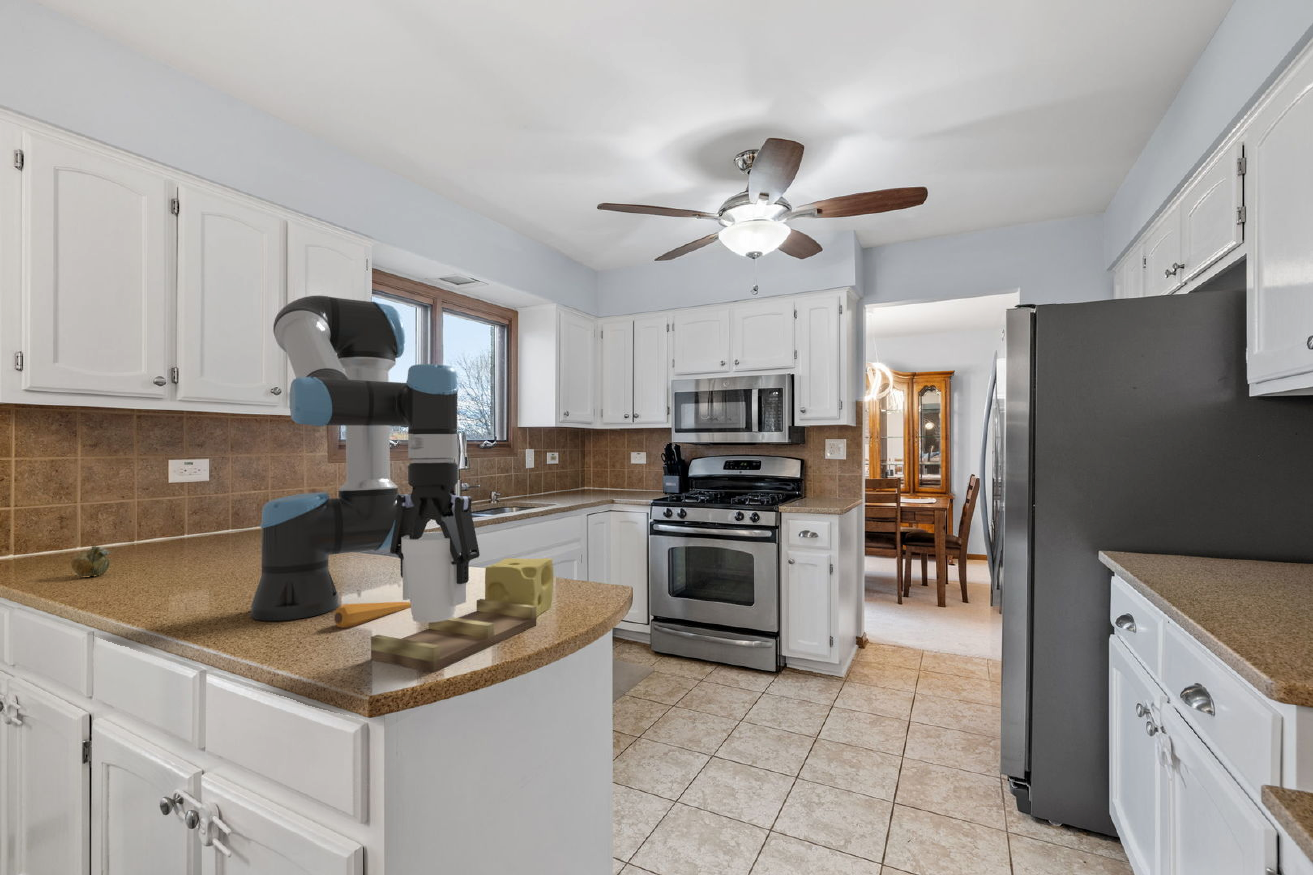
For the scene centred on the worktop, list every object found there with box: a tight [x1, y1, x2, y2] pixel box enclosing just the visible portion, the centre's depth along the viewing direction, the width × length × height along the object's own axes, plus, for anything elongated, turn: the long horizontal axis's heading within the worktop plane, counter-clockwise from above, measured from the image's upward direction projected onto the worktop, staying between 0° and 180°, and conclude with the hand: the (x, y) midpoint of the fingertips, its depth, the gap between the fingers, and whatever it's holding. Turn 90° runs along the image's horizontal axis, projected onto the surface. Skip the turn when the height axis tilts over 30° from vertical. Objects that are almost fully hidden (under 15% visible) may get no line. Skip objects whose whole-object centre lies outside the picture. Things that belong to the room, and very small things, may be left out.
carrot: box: [333, 601, 411, 629], centre depth 119 cm, size 20×4×4 cm, turn 155°
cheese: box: [484, 557, 555, 619], centre depth 121 cm, size 10×11×10 cm
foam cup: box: [401, 531, 461, 624], centre depth 98 cm, size 10×9×13 cm
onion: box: [71, 545, 111, 577], centre depth 156 cm, size 8×8×8 cm
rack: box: [370, 598, 537, 673], centre depth 103 cm, size 13×25×4 cm, turn 155°
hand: (434, 600), depth 98 cm, fingers closed on foam cup, 9 cm apart
